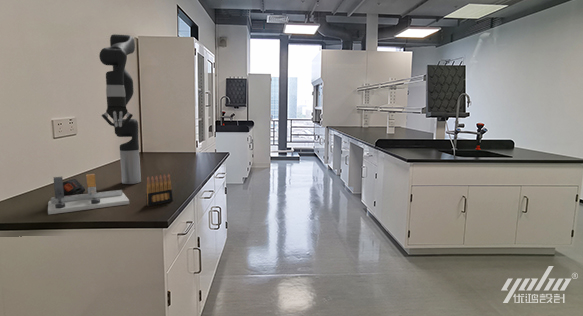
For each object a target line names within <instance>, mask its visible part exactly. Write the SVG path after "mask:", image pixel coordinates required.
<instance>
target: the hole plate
mask: <svg viewBox="0 0 583 316" xmlns="http://www.w3.org/2000/svg"><path fill="white" fill-rule="evenodd" d="M47 205H48V206H47V215H55V214H62V213H69V212H70V213H71V212H78V211H86V210H92V209H100V208H101V209H102V208H108V207H116V206H123V205H130V199H129V198H128V197H127V195H126V194H125V193H124V192H122V195H120V196H112V197H103V198H95V199H86V200H78V201H69V202H62V203H52V204H51V200H49V201H48V204H47Z"/></svg>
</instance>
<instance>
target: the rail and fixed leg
mask: <svg viewBox="0 0 583 316" xmlns="http://www.w3.org/2000/svg"><path fill="white" fill-rule="evenodd" d="M63 179H64V178H63V176H53V185H54V186H53V188H54V197H50V201H51V204H52V203H62V202H69V201H78V200H86V199H92V194H88V193H81V194H79V195H70V196H64V190H63V182H64V180H63ZM122 193H123V190H122V189H117V190H108V191H107V190H106V191H100V192H97V191H96V193H95V198H103V197H112V196H120V195H122Z"/></svg>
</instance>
